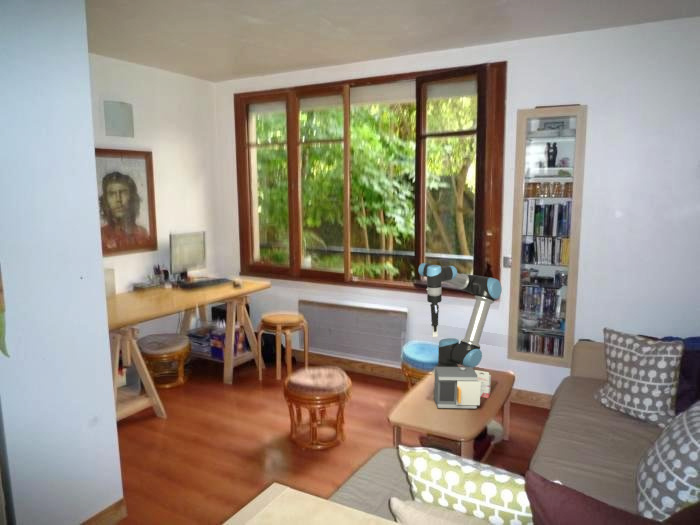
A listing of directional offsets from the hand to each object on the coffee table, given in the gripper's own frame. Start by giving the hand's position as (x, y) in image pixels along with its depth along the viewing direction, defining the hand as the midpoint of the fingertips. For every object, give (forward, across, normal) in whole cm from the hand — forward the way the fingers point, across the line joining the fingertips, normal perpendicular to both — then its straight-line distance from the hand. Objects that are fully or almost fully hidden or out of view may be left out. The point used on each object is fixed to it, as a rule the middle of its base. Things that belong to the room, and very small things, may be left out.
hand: (434, 336), depth 274 cm
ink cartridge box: (+35, 0, +25) cm, 43 cm away
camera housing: (+34, +12, +8) cm, 36 cm away
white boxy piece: (+31, +21, +14) cm, 40 cm away
